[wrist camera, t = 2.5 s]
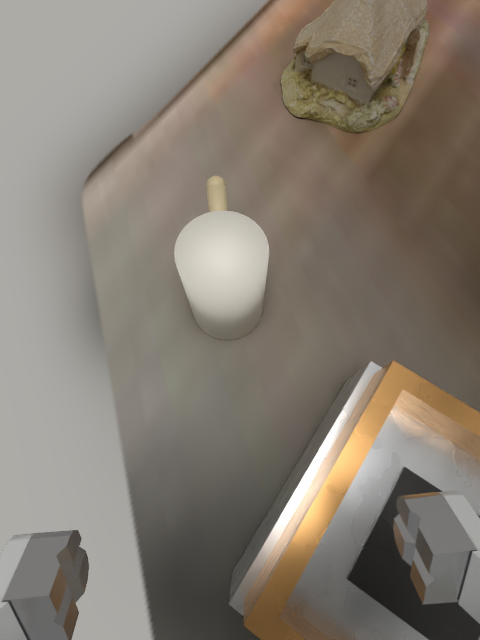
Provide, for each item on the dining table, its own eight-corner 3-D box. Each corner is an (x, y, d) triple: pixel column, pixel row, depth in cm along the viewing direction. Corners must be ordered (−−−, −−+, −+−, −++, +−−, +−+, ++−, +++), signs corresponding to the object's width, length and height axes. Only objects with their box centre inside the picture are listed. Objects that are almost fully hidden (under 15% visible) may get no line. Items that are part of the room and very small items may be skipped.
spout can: (266, 336, 29) (274, 290, 21) (195, 343, 29) (176, 299, 21) (254, 234, 32) (257, 158, 24) (188, 239, 32) (170, 166, 24)
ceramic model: (370, 156, 35) (417, 43, 25) (261, 101, 37) (266, -22, 28) (439, 56, 39) (503, -75, 29) (336, 12, 41) (364, -124, 31)
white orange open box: (345, 381, 28) (389, 346, 20) (540, 504, 26) (687, 525, 17) (203, 620, 24) (180, 708, 15) (422, 800, 21) (542, 1029, 13)
